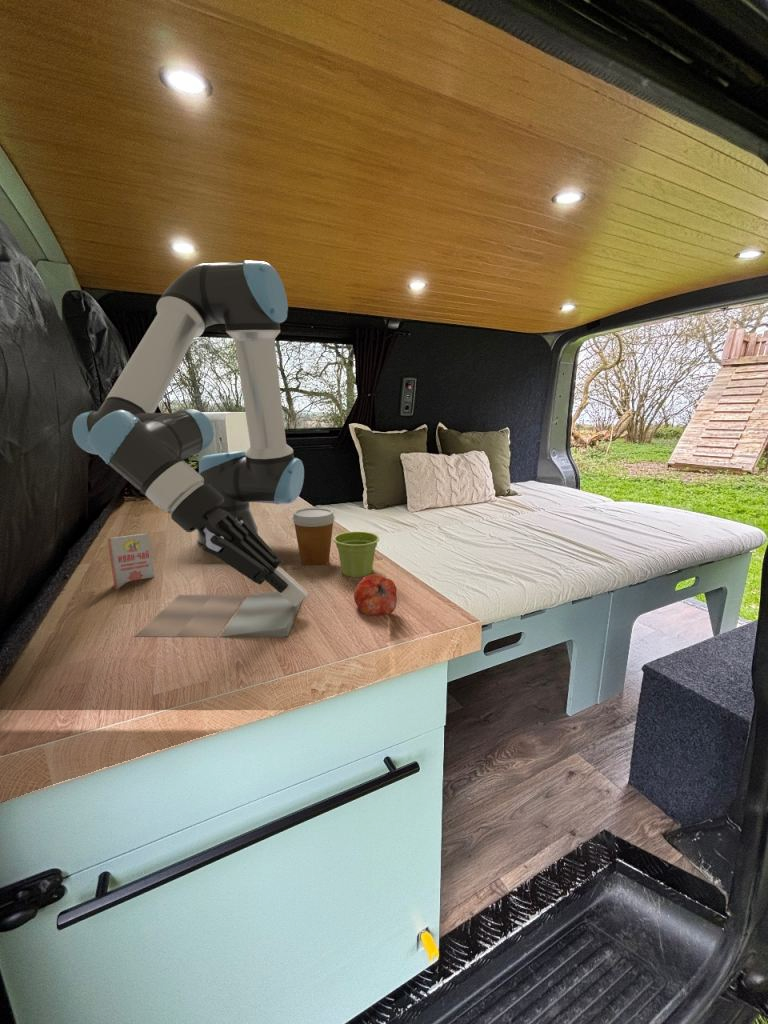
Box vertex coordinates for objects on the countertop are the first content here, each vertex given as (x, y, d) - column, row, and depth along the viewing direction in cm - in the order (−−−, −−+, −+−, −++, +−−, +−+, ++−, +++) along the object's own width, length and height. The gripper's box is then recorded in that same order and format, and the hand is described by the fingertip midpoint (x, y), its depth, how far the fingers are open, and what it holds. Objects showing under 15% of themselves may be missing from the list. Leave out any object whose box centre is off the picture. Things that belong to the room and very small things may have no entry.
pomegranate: (350, 621, 72) (354, 611, 63) (352, 580, 75) (357, 565, 66) (391, 623, 73) (401, 614, 64) (392, 583, 76) (402, 569, 67)
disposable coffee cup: (343, 565, 92) (342, 513, 89) (304, 573, 87) (302, 519, 84) (324, 553, 100) (323, 505, 97) (287, 560, 95) (285, 510, 92)
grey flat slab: (250, 602, 74) (248, 595, 73) (304, 594, 74) (302, 587, 73) (221, 645, 60) (219, 636, 60) (287, 636, 60) (285, 627, 60)
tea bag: (115, 583, 81) (108, 536, 78) (154, 577, 84) (148, 531, 82) (115, 590, 78) (107, 541, 75) (155, 583, 81) (149, 535, 79)
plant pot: (325, 576, 86) (324, 537, 83) (357, 565, 92) (357, 528, 90) (355, 590, 79) (355, 548, 77) (388, 576, 86) (388, 537, 84)
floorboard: (180, 601, 74) (179, 594, 73) (246, 602, 74) (246, 595, 73) (135, 645, 60) (134, 636, 60) (217, 645, 60) (216, 636, 60)
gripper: (191, 505, 69) (294, 596, 73) (149, 527, 56) (276, 635, 60) (220, 475, 68) (322, 569, 72) (184, 489, 55) (311, 602, 59)
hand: (301, 599), depth 66 cm, fingers closed
